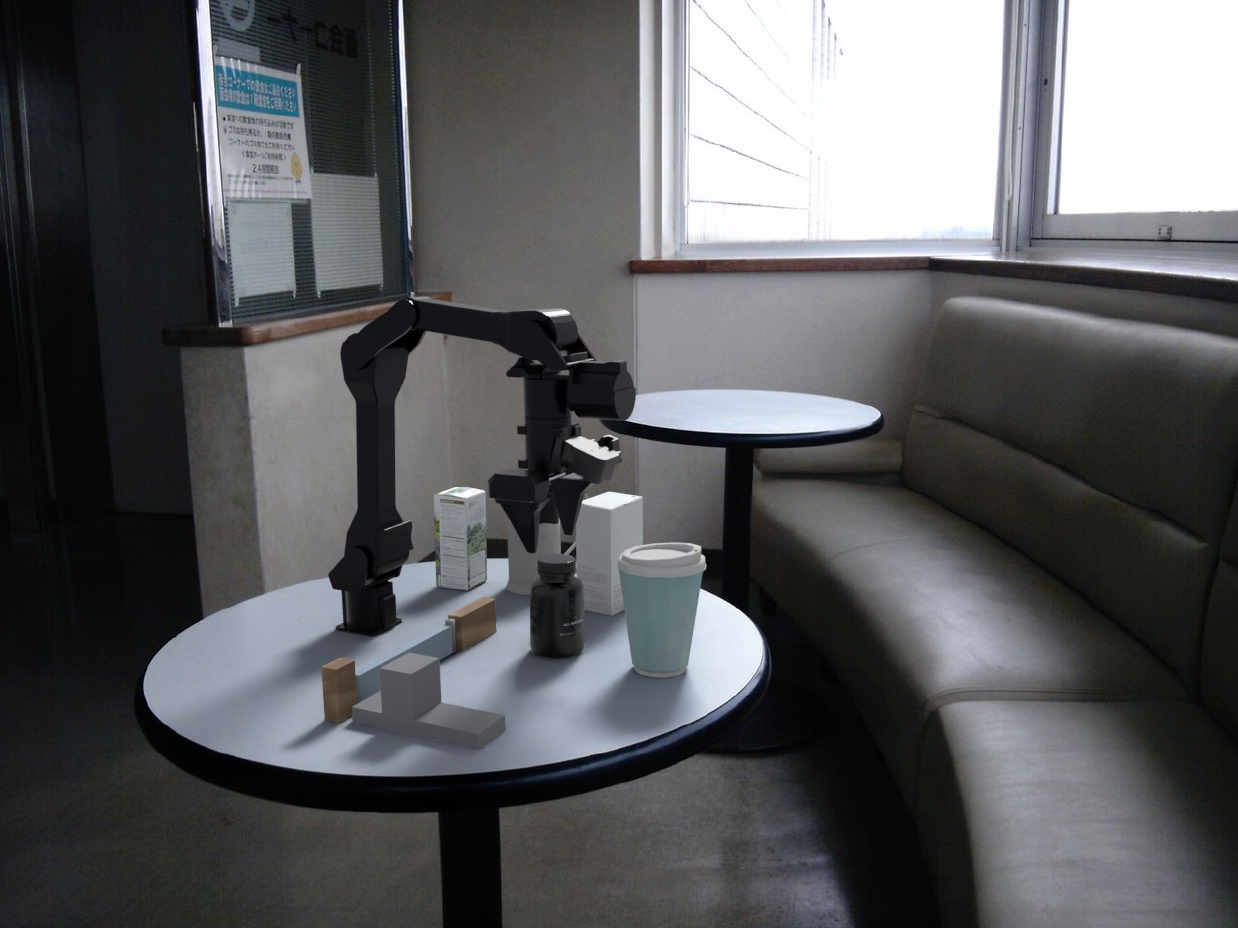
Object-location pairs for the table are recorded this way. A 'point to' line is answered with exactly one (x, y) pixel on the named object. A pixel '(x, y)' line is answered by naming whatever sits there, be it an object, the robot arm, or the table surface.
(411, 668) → the gray t-shaped pedestal
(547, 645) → the supplement bottle
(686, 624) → the disposable coffee cup
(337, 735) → the table surface
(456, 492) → the syrup box
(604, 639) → the table surface
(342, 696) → the wooden blocks
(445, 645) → the door leaf
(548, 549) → the glass holder
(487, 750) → the table surface
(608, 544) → the skincare box
